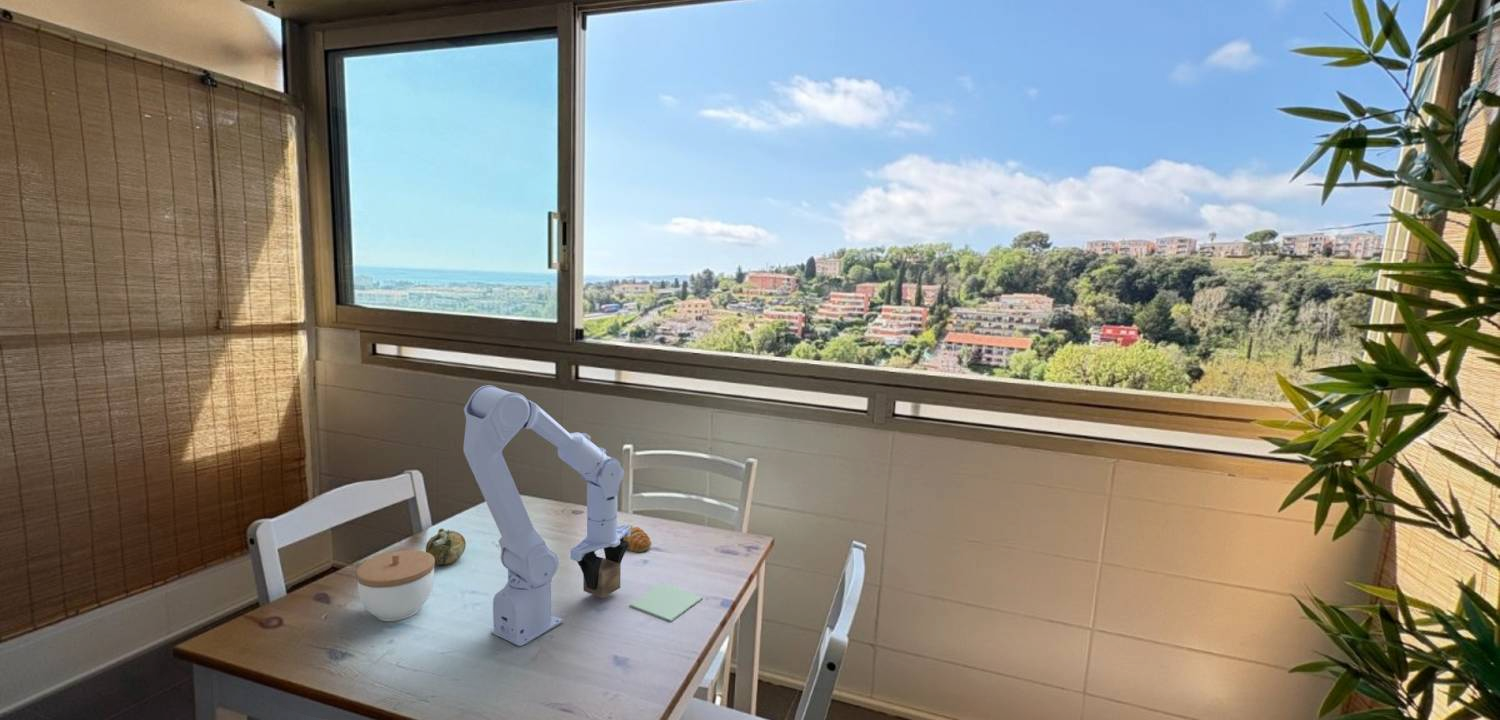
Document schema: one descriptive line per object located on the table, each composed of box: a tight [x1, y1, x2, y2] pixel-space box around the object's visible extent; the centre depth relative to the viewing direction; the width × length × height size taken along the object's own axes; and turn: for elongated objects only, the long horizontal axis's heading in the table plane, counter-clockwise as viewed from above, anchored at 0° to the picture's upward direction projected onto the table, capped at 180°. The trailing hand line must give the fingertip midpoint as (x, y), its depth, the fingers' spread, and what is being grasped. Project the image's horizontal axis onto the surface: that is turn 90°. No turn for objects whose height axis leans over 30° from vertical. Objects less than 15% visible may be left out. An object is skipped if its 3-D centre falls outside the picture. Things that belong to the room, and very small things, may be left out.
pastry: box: [623, 524, 653, 553], centre depth 149 cm, size 9×7×4 cm
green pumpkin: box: [425, 528, 467, 566], centre depth 138 cm, size 8×8×8 cm
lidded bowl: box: [355, 549, 436, 622], centre depth 117 cm, size 13×13×11 cm
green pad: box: [629, 583, 704, 622], centre depth 124 cm, size 10×10×1 cm
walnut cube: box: [582, 557, 622, 599], centre depth 125 cm, size 5×5×5 cm
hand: (602, 582), depth 125 cm, fingers closed on walnut cube, 5 cm apart
